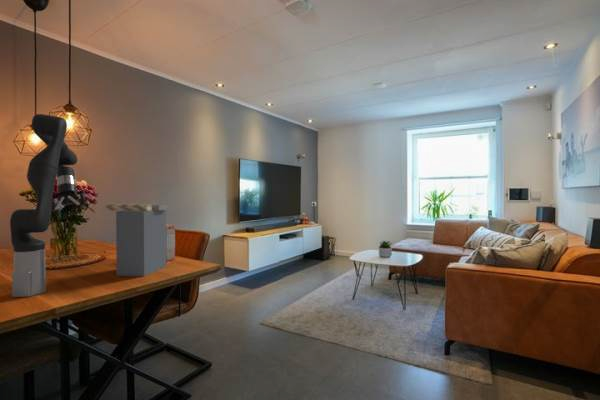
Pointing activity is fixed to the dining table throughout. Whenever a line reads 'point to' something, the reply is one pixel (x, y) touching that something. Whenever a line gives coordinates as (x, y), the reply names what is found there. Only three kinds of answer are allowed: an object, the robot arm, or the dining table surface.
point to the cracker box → (170, 242)
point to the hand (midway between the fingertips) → (69, 215)
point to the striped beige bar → (128, 207)
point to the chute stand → (141, 241)
